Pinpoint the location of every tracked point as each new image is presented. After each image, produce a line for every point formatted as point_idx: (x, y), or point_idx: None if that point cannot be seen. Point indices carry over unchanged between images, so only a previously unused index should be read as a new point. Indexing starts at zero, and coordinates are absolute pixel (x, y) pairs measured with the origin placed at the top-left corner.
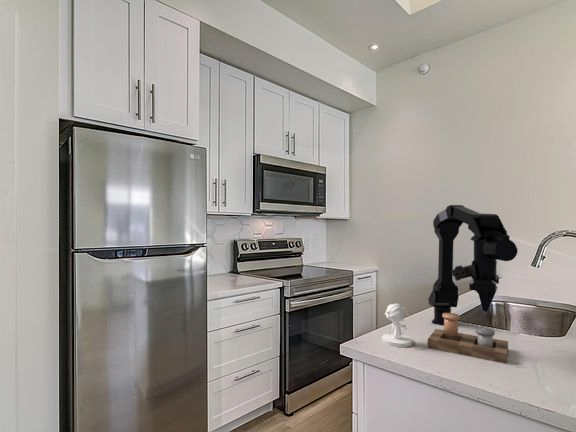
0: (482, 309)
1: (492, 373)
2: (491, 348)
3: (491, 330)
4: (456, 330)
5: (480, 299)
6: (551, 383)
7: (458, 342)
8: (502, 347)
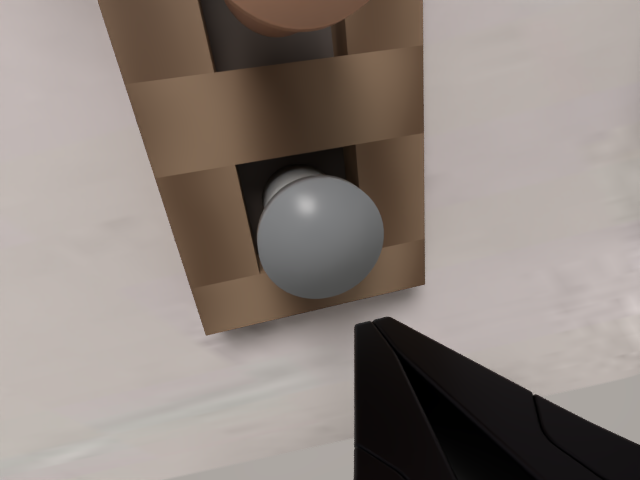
0: (357, 333)
1: (20, 301)
2: (239, 261)
3: (349, 274)
4: (258, 23)
5: (355, 470)
6: (136, 446)
7: (191, 70)
8: None
